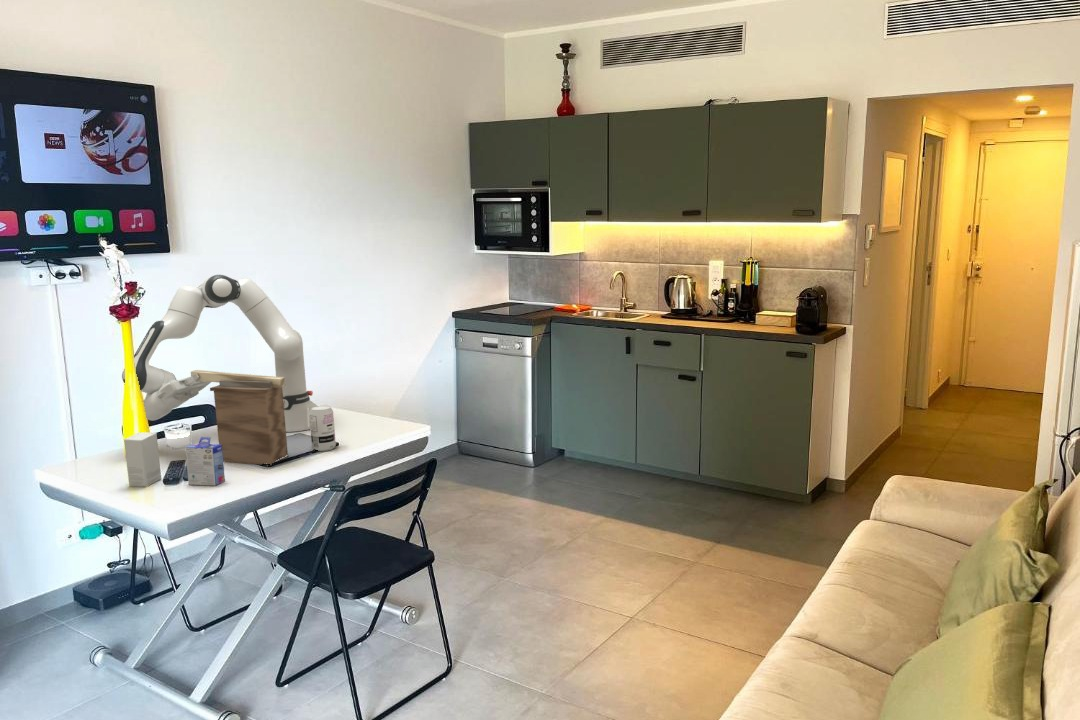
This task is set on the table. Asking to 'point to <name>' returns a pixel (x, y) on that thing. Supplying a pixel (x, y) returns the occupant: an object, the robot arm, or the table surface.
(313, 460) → the table surface
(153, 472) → the skincare box
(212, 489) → the table surface
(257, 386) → the tall wooden crate
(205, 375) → the wooden bar
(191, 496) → the table surface
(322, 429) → the supplement can
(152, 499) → the table surface
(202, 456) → the ink cartridge box
